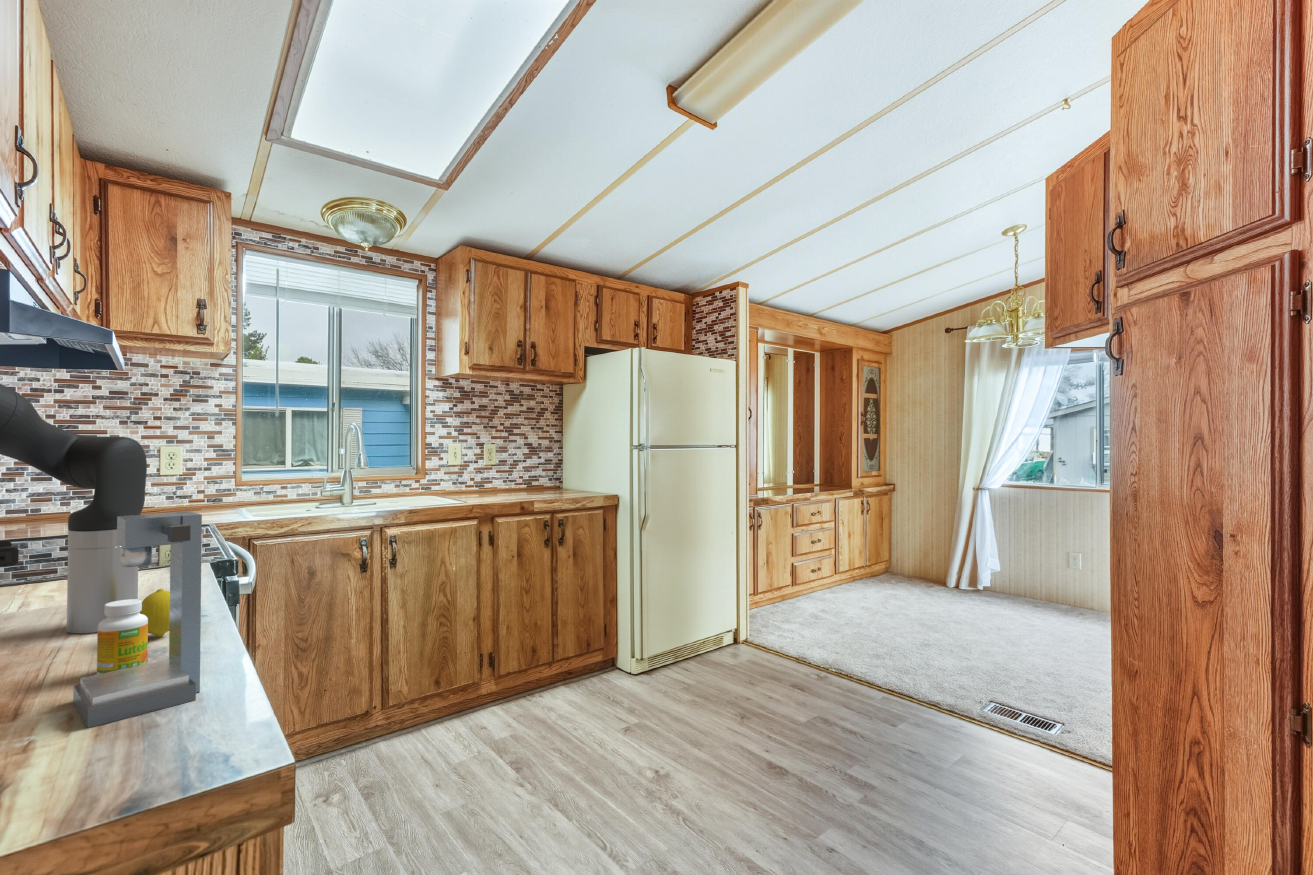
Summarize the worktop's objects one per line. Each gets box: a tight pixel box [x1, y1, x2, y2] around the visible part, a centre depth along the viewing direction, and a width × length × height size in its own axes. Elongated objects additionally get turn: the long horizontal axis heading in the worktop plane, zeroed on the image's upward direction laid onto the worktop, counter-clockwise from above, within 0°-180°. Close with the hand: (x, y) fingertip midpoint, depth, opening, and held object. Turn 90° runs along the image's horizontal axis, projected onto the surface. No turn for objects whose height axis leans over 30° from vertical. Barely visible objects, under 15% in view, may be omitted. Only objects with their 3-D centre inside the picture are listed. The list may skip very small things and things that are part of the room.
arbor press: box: [72, 510, 203, 729], centre depth 76 cm, size 15×11×23 cm
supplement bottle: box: [96, 598, 149, 675], centre depth 86 cm, size 5×5×10 cm
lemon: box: [140, 588, 170, 638], centre depth 101 cm, size 6×6×8 cm
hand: (14, 551), depth 78 cm, fingers open, 8 cm apart
